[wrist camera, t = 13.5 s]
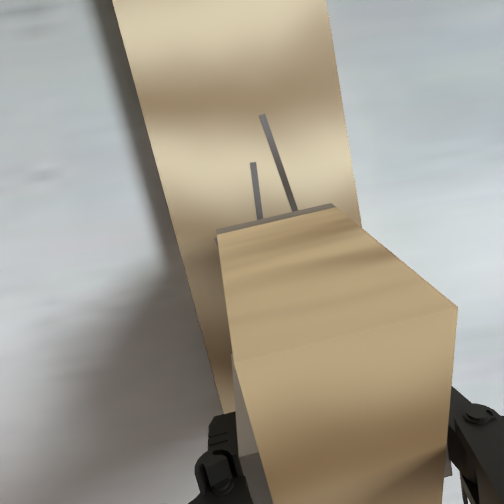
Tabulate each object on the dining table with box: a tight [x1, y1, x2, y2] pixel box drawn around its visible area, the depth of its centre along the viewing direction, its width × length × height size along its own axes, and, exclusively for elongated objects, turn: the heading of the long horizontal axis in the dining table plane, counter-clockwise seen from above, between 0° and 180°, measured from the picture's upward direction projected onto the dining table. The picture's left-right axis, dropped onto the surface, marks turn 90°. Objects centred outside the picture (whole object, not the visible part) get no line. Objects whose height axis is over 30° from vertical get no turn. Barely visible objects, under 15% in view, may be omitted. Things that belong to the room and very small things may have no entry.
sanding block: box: [216, 203, 458, 504], centre depth 13 cm, size 8×5×8 cm, turn 14°
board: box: [112, 0, 362, 414], centre depth 17 cm, size 26×9×1 cm, turn 12°
